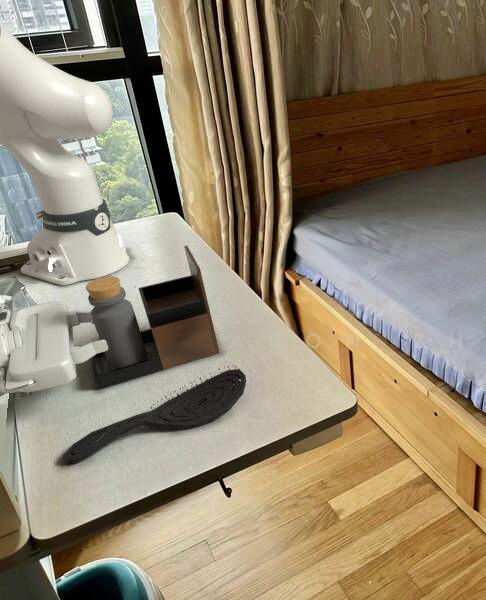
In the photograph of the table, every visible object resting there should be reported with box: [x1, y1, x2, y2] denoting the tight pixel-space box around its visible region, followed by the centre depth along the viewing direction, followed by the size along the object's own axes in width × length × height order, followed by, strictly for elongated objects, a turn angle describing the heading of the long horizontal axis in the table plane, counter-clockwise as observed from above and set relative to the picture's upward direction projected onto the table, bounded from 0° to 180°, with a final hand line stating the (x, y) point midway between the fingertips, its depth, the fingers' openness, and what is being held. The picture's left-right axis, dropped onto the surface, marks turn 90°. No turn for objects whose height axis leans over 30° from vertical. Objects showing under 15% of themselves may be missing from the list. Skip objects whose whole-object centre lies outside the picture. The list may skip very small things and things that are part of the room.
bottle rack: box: [90, 245, 220, 391], centre depth 87 cm, size 18×10×16 cm, turn 120°
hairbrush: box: [62, 364, 247, 465], centre depth 76 cm, size 8×4×25 cm
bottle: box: [85, 275, 149, 371], centre depth 86 cm, size 6×6×15 cm
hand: (104, 328), depth 85 cm, fingers open, 8 cm apart
